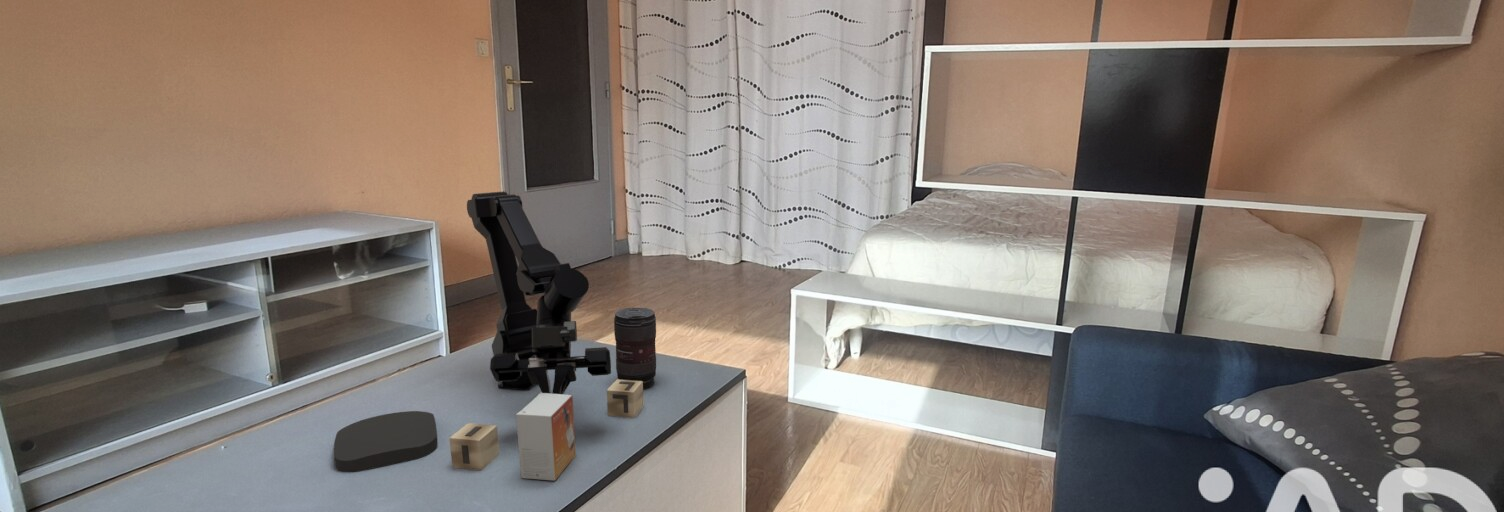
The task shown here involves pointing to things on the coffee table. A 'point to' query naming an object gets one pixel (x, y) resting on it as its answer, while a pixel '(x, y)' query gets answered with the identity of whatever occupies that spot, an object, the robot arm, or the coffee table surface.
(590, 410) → the coffee table surface
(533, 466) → the small box
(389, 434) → the media streaming box
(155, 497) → the coffee table surface
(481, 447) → the marked block left
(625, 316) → the camera lens
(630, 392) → the marked block right
